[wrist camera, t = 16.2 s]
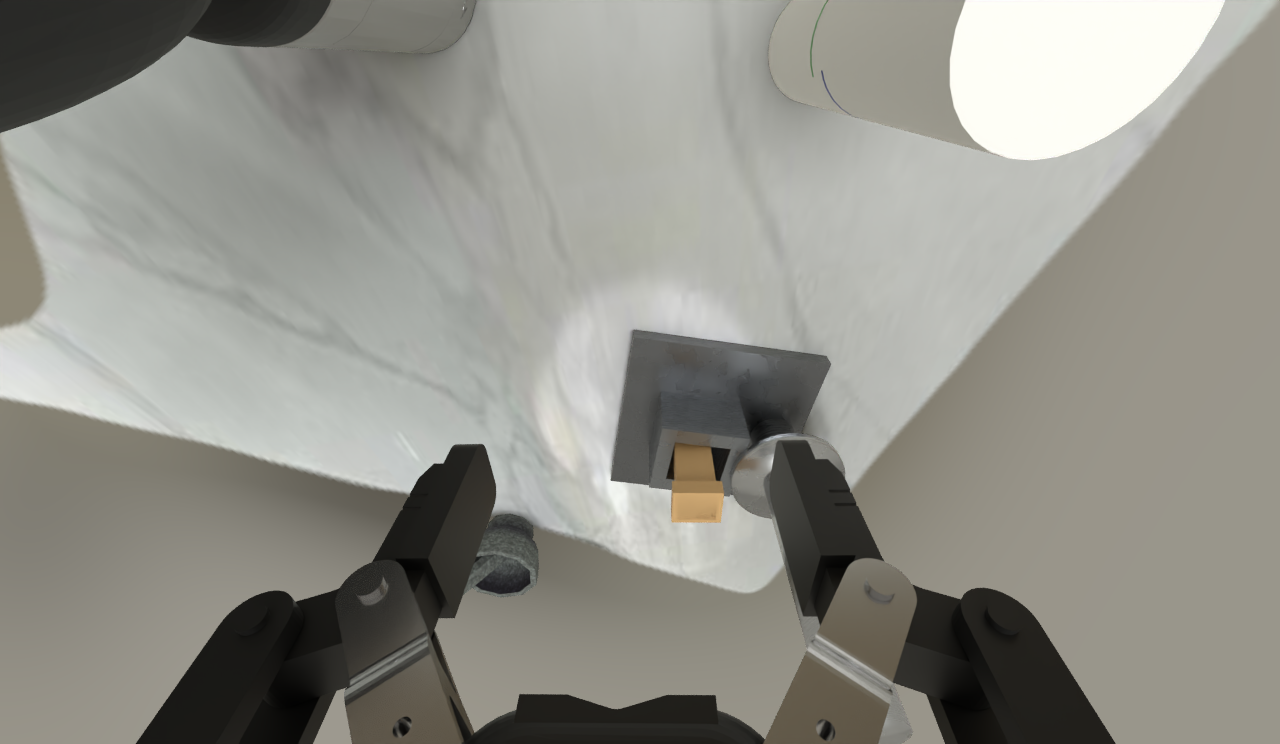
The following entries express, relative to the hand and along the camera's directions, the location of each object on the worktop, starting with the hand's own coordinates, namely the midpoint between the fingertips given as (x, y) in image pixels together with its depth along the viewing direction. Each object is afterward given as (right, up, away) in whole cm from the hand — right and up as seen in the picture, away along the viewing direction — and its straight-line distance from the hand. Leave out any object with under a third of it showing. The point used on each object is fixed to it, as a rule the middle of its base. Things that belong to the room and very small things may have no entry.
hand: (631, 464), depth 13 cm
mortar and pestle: (-18, -19, +51) cm, 57 cm away
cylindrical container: (+13, +26, +21) cm, 36 cm away
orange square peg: (+5, -3, +38) cm, 39 cm away
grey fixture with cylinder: (+9, -3, +40) cm, 41 cm away
